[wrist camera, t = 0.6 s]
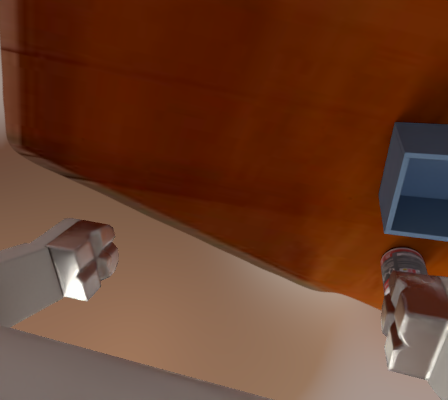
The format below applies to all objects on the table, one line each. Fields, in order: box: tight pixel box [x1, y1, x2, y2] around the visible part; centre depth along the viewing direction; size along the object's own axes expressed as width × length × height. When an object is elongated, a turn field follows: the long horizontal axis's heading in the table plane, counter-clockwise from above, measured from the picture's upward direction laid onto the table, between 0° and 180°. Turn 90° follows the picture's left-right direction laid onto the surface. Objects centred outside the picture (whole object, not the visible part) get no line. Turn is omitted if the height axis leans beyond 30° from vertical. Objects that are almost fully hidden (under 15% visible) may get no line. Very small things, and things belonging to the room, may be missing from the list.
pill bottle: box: [381, 248, 428, 295], centre depth 46 cm, size 6×6×10 cm
